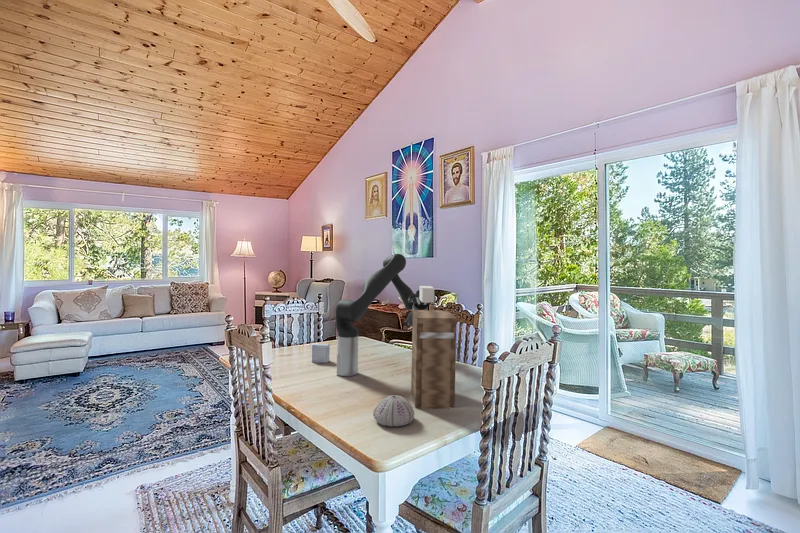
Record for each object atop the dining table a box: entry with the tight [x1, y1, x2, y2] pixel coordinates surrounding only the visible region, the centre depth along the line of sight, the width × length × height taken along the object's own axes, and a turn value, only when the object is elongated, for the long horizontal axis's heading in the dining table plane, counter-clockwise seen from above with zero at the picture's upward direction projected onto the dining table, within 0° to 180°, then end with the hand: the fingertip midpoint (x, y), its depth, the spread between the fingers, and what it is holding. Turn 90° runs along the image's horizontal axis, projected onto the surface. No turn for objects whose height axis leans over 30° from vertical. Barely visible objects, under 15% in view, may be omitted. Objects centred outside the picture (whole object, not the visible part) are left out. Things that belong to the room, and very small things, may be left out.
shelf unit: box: [410, 309, 458, 410], centre depth 148 cm, size 14×21×32 cm
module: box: [418, 285, 435, 304], centre depth 175 cm, size 5×21×6 cm, turn 3°
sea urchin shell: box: [372, 394, 415, 428], centre depth 128 cm, size 13×14×8 cm
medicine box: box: [311, 342, 331, 364], centre depth 197 cm, size 8×4×9 cm, turn 84°
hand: (424, 291), depth 180 cm, fingers closed on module, 4 cm apart
